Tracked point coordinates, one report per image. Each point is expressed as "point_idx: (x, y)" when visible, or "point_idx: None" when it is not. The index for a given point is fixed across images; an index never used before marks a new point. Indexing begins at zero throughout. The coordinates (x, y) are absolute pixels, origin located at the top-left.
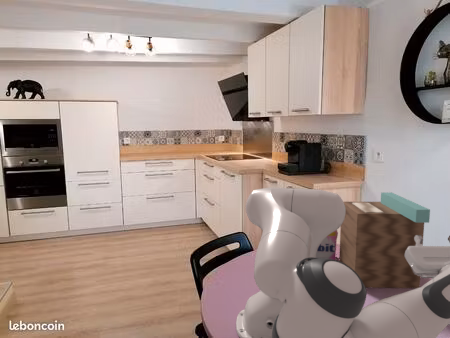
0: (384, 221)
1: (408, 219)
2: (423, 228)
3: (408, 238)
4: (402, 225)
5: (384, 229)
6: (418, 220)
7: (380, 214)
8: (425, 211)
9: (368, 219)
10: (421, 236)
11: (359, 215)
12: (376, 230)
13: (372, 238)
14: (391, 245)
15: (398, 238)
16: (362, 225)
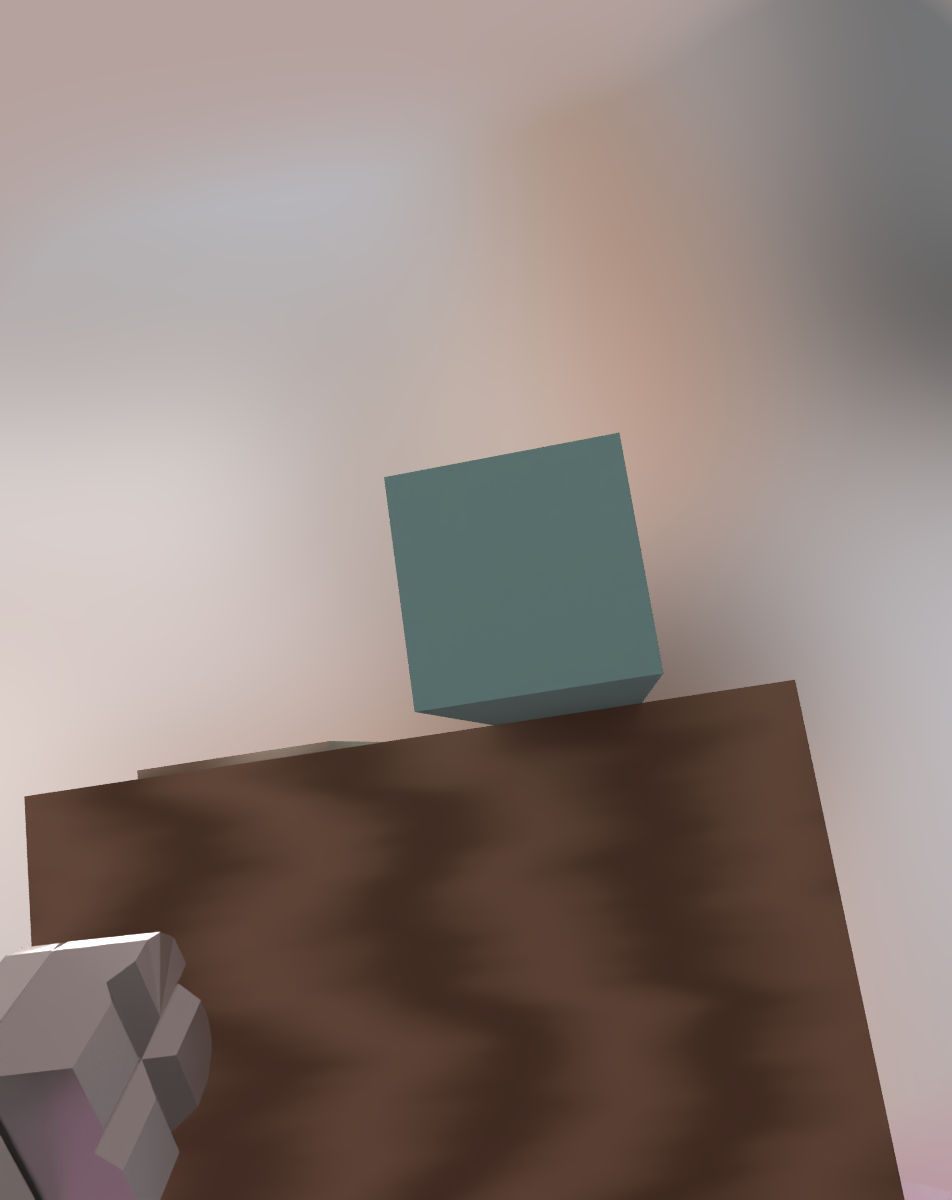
0: (329, 848)
1: (609, 781)
2: (830, 875)
3: (669, 1043)
4: (552, 870)
5: (347, 953)
6: (457, 665)
7: (272, 768)
8: (546, 480)
9: (149, 849)
10: (127, 963)
11: (46, 814)
12: (254, 978)
13: (222, 1093)
14: (471, 1170)
15: (539, 1057)
16: (90, 933)
